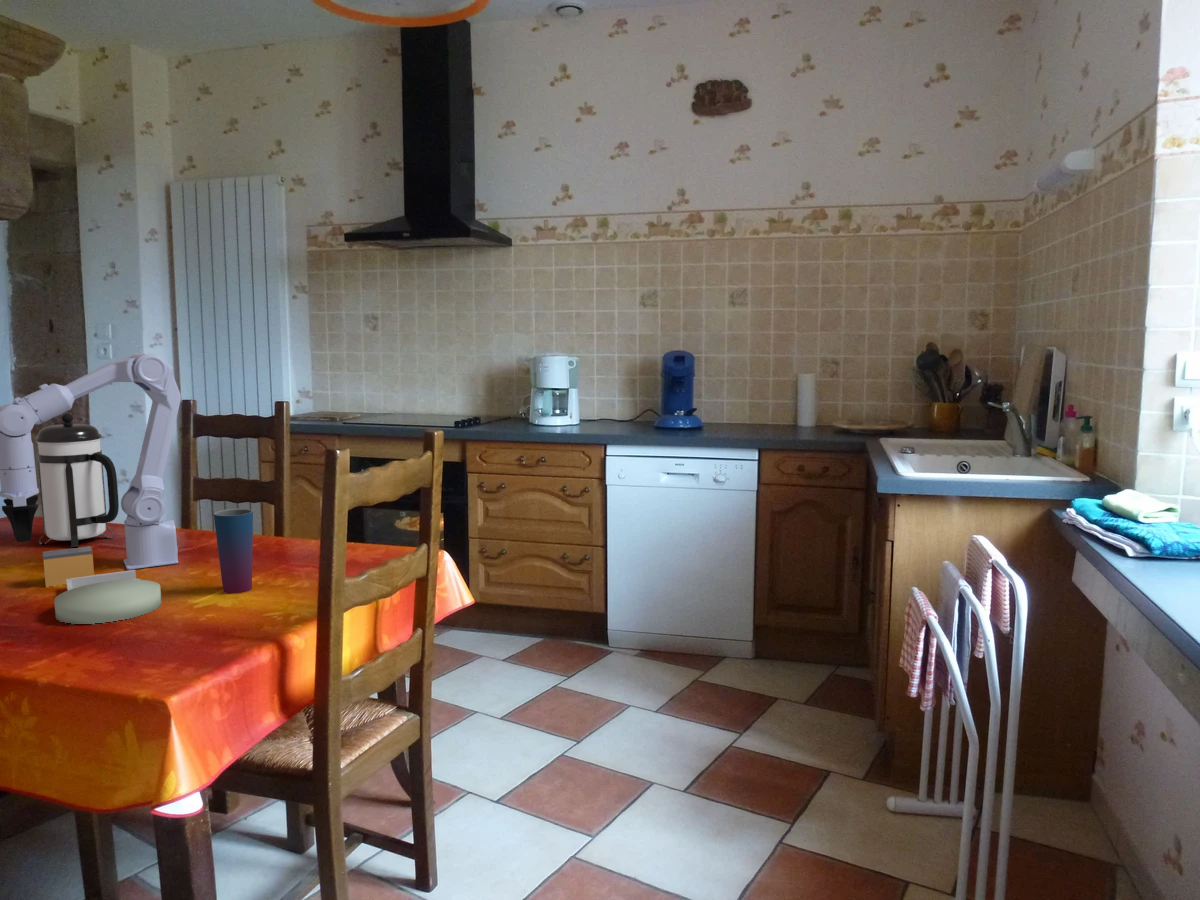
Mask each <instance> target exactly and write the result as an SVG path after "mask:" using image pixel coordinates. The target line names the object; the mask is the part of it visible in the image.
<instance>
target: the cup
mask: <svg viewBox="0 0 1200 900" xmlns="http://www.w3.org/2000/svg"><path fill="white" fill-rule="evenodd" d="M213 521H214V526H215V536H216V542H217V551H218V560H219V567H220V575H221V577H220V578H221V584H222V591H223V593H226V594H231V593H234V594H243V593H246V591H247V592H249V591H251V590H252V589H253V550H254V549H253V546H254V545H253V537H254V535H253V533H254V510H253V509H251V508H250V509H249V508H243V507H242V508H228V509H221V510H218V511H215V512H214V513H213ZM242 592H243V593H242Z"/></svg>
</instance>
